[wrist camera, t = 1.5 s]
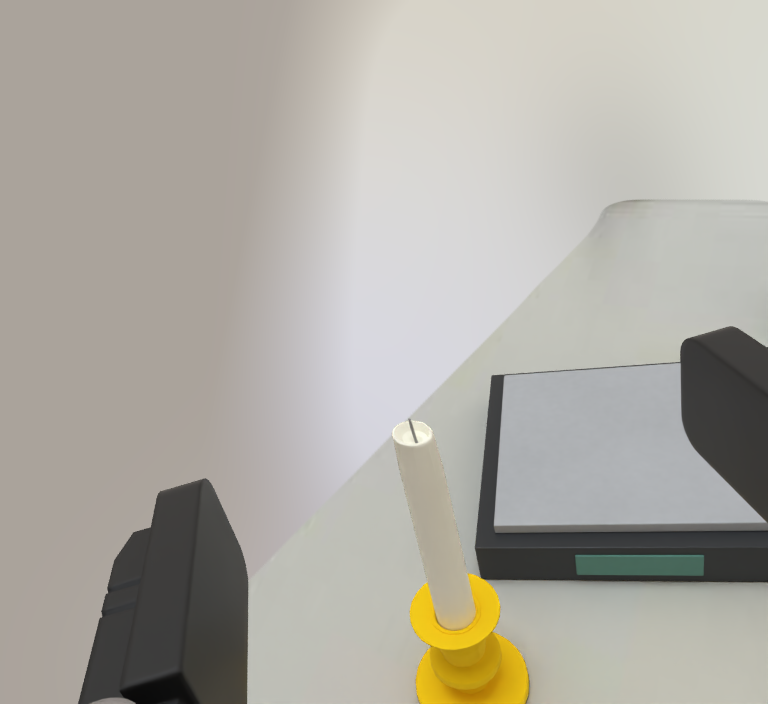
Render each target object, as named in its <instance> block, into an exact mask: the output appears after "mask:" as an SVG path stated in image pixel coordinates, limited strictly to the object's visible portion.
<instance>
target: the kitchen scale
mask: <svg viewBox="0 0 768 704" xmlns="http://www.w3.org/2000/svg"><path fill="white" fill-rule="evenodd" d="M475 550H476V555H477V560H478V565H479V570H480V575H481V578H482V579H559V580H664V581H768V523H767V522H766V521H765V520H764V519H763V518H762V517H761V516H760V515H759V514H758V513H757V512H756V511H755V510H754V509H753V508H752V507H751V506H750V505H749V504H748V503H747V502H746V501H745V500H744V499H743V498H742V497H741V496H740V495H739V494H738V493H737V492H736V491H735V490H734V489H733V488H732V487H731V486H730V485H729V484H728V483H727V482H726V481H725V480H724V479H723V478H722V477H721V476H720V475H719V474H718V473H717V472H716V471H715V470H714V469H713V468H712V467H711V466H710V465H709V464H708V463H707V462H706V461H705V460H704V459H703V458H702V457H701V456H700V455H699V454H698V452H697V451H696V450H695V449H694V448H693V446H692V445H691V443H690V441H689V439H688V437H687V435H686V433H685V430H684V427H683V423H682V416H681V363H680V362H675V363H661V364H646V365H632V366H618V367H604V368H590V369H576V370H562V371H548V372H534V373H520V374H506V375H492V377H491V387H490V398H489V408H488V419H487V429H486V439H485V450H484V460H483V471H482V481H481V492H480V502H479V512H478V523H477V533H476V544H475Z"/></svg>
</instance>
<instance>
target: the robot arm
mask: <svg viewBox="0 0 768 704" xmlns="http://www.w3.org/2000/svg"><path fill="white" fill-rule="evenodd" d="M680 363H681V416H682V423H683V427H684V430H685V433H686V435H687V437H688V439H689V441H690V443H691V445H692V446H693V448H694V449H695V450H696V451H697V452H698V454H699V455H700V456H701V457H702V458H703V459H704V460H705V461H706V462H707V463H708V464H709V465H710V466H711V467H712V468H713V469H714V470H715V471H716V472H717V473H718V474H719V475H720V476H721V477H722V478H723V479H724V480H725V481H726V482H727V483H728V484H729V485H730V486H731V487H732V488H733V489H734V490H735V491H736V492H737V493H738V494H739V495H740V496H741V497H742V498H743V499H744V500H745V501H746V502H747V503H748V504H749V505H750V506H751V507H752V508H753V509H754V510H755V511H756V512H757V513H758V514H759V515H760V516H761V517H762V518H763V519H764V520H765V521H766V522H767V523H768V347H765V346H764V345H762V344H761V343H759V342H758V341H756V340H755V339H753V338H752V337H750V336H749V335H747V334H746V333H744V332H743V331H741V330H740V329H738V328H736V327H733V326H729V327H726V328H722V329H719V330H715V331H712V332H709V333H705V334H702V335H698V336H695V337H692V338H688V339H686V340H684V342H683V343H682V346H681V351H680ZM101 612H102V618H100V619H99V623H98V627H97V631H96V636H95V640H94V643H93V647H92V651H91V655H90V659H89V663H88V667H87V671H86V675H85V679H84V683H83V687H82V691H81V695H80V699H79V702H78V704H247V656H248V576H247V570H246V564H245V560H244V556H243V553H242V550H241V547H240V545H239V543H238V541H237V538H236V536H235V534H234V532H233V530H232V527H231V525H230V523H229V521H228V519H227V517H226V514H225V512H224V510H223V508H222V506H221V504H220V501H219V499H218V497H217V495H216V492H215V490H214V488H213V486H212V485H211V483H210V482H209V480H207V479H202V480H198V481H195V482H191V483H188V484H184V485H181V486H178V487H174V488H171V489H167V490H164V491H160V493H159V494H158V496H157V499H156V505H155V509H154V515H153V519H152V525H151V528H147V529H144V530H140V531H137V532H134V533H133V534H132V535H131V537H130V539H129V540H128V541H127V543H126V544H125V546H124V547H123V549H122V550H121V552H120V553H119V554H118V556H117V557H116V559H115V560H114V564H113V568H112V572H111V576H110V580H109V584H108V594H106V596H105V600H104V603H103V608H102V611H101Z"/></svg>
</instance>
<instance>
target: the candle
mask: <svg viewBox="0 0 768 704" xmlns="http://www.w3.org/2000/svg"><path fill="white" fill-rule="evenodd" d="M408 420H409V421H406V422H402V423H400V424H398V425H397V426H395V427H394V429H393V431H392V437H393V439H394V444H395V450H396V455H397V460H398V465H399V470H400V474H401V478H402V482H403V486H404V490H405V494H406V498H407V502H408V506H409V510H410V514H411V518H412V522H413V526H414V530H415V534H416V538H417V542H418V546H419V550H420V554H421V558H422V562H423V566H424V570H425V574H426V578H427V583H426V584H424V585H423V586H422V587H421V589H420V590H419V591H418V592H417V593H416V595H415V597H414V599H413V601H412V603H411V608H410V620H411V624H412V627H413V629H414V631H415V633H416V634H417V635H418V637H419V638H420V639H421V640H422V641H423V642H425V643H427V644H428V645H430V646H431V647H430V648H429V649H428V651H427V652H426V653H425V654H424V656H423V658H422V660H421V662H420V664H419V666H418V670H417V676H416V690H417V696H418V699H419V702H420V704H525V703H526V700H527V697H528V694H529V676H528V672H527V668H526V664H525V661H524V659H523V657H522V656H521V654H520V652H519V651H518V649H517V648H516V647H515V646H514V645H513V644H512V643H511V642H510V641H509V640H507V639H506V638H504V637H502V636H500V635H499V634H497V633H494V632H492V631H493V630H494V629H495V627H496V625H497V622H498V620H499V617H500V603H499V599H498V595H497V594H496V592H495V590H494V589H493V587H492V586H491V585H490V584H489V583H488V582H486V581H485V580H484V579H482V578H480V577H478V576H476V575H472V574H468V573H467V569H466V565H465V560H464V556H463V552H462V547H461V543H460V539H459V534H458V530H457V525H456V521H455V517H454V512H453V508H452V503H451V499H450V495H449V490H448V486H447V482H446V477H445V473H444V468H443V465H442V461H441V458H440V454H439V451H438V447H437V444H436V440H435V437H434V433H433V431H432V429H431V428H430V427H429V426H428V425H426V424H425V423H423V422H419V421H411V419H408Z"/></svg>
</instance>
